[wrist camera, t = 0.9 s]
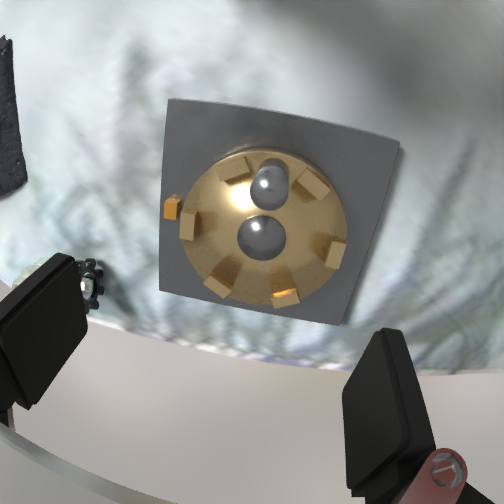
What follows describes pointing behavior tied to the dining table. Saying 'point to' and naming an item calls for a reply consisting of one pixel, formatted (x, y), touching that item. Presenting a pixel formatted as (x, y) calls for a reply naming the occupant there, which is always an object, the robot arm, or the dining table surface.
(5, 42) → the dark slate chunk
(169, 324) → the dining table surface
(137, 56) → the dining table surface
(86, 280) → the valve
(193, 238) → the brass crank wheel
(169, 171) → the housing
